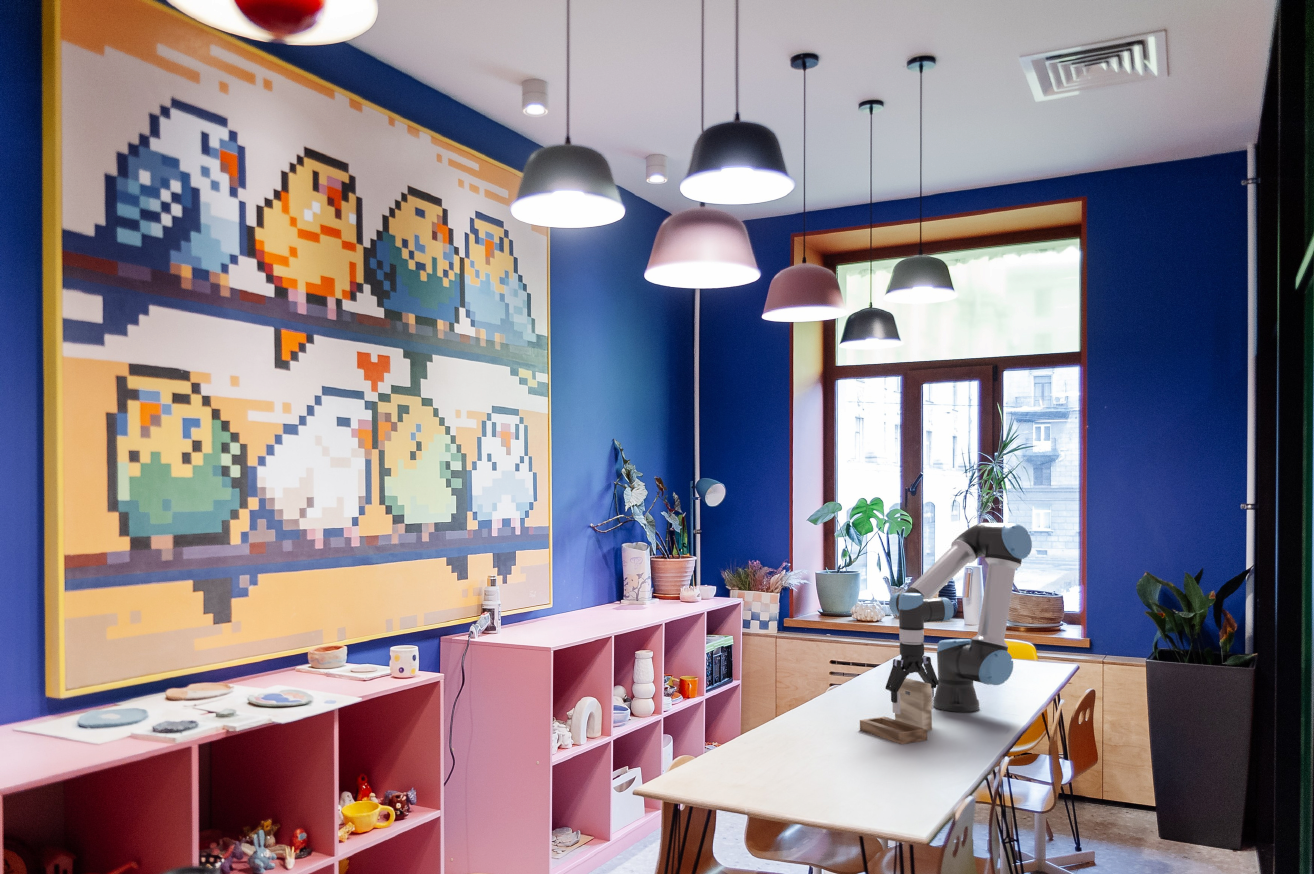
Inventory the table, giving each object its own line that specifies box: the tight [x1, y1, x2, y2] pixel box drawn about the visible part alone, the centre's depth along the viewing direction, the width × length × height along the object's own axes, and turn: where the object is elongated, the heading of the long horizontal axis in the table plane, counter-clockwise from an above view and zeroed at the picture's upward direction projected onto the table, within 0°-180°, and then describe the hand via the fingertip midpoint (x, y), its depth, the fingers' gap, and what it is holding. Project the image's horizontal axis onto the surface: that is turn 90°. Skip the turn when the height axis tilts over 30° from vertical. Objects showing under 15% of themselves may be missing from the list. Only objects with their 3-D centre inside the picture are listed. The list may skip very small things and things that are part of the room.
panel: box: [894, 677, 933, 732], centre depth 288 cm, size 4×12×14 cm, turn 28°
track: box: [859, 716, 928, 745], centre depth 277 cm, size 10×18×3 cm, turn 28°
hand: (912, 710), depth 288 cm, fingers open, 13 cm apart
